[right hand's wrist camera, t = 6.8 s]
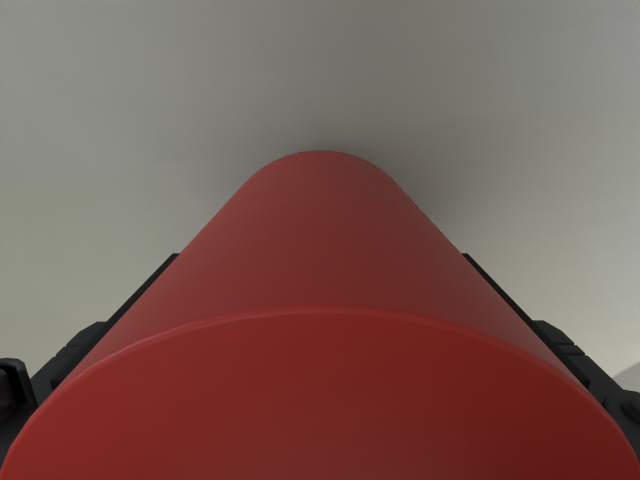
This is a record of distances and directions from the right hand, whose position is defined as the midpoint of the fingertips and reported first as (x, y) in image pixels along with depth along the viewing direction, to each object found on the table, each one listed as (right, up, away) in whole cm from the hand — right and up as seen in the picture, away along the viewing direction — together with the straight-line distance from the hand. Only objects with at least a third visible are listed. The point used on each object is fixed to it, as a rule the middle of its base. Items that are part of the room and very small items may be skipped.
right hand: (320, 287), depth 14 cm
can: (0, +1, +3) cm, 4 cm away
